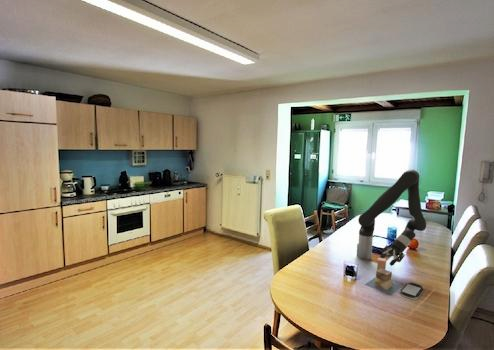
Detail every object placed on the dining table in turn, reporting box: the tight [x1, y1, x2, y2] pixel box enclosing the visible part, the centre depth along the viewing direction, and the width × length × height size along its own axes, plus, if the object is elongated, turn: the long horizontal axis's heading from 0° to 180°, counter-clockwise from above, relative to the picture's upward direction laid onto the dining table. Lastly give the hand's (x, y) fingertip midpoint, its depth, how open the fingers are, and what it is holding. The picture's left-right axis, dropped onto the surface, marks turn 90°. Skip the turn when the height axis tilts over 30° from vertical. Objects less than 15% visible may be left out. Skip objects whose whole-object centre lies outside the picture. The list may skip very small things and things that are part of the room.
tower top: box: [375, 268, 393, 282], centre depth 159 cm, size 6×6×4 cm
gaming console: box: [399, 282, 425, 301], centre depth 154 cm, size 19×9×2 cm, turn 135°
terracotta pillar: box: [376, 257, 387, 271], centre depth 175 cm, size 5×5×10 cm
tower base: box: [374, 276, 393, 290], centre depth 159 cm, size 7×7×4 cm
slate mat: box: [364, 277, 403, 296], centre depth 159 cm, size 15×15×1 cm
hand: (385, 262), depth 175 cm, fingers open, 8 cm apart
